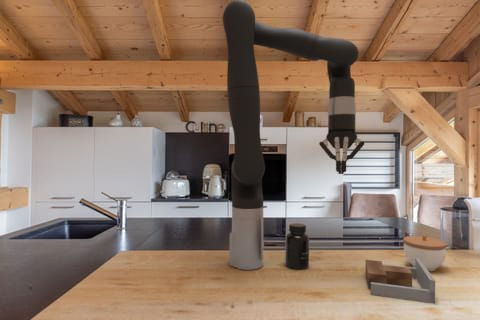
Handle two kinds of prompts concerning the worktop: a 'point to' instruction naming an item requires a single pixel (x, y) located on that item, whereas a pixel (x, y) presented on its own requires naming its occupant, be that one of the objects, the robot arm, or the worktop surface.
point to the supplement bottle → (297, 247)
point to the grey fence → (410, 293)
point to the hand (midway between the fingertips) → (341, 173)
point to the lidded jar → (425, 251)
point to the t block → (387, 274)
